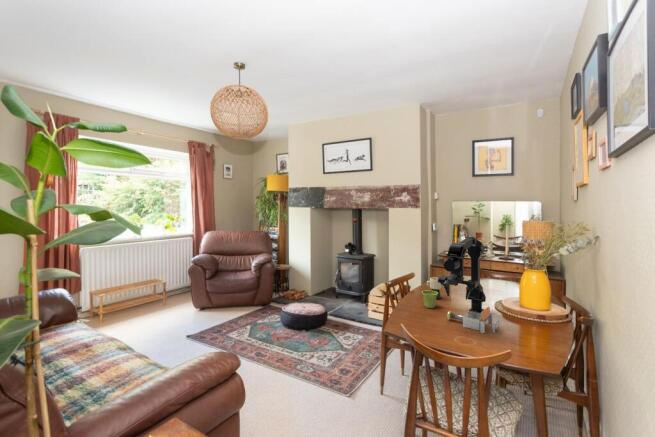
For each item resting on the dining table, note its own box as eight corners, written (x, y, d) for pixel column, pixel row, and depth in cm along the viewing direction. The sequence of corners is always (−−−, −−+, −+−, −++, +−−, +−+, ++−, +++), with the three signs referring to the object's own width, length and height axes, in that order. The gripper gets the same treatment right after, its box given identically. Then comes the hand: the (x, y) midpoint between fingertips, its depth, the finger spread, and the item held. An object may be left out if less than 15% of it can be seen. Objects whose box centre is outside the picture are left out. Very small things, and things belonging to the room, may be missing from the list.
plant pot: (427, 309, 194) (427, 295, 193) (418, 304, 203) (418, 291, 202) (441, 308, 196) (441, 293, 196) (432, 303, 205) (432, 289, 205)
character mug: (443, 297, 217) (444, 277, 217) (444, 300, 211) (444, 280, 210) (426, 295, 220) (426, 276, 220) (426, 299, 214) (426, 279, 213)
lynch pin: (450, 317, 179) (450, 309, 179) (475, 323, 171) (475, 315, 171) (447, 320, 176) (447, 312, 176) (472, 326, 168) (472, 317, 167)
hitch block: (470, 319, 177) (470, 309, 177) (500, 326, 168) (500, 315, 167) (461, 327, 166) (461, 317, 166) (492, 335, 157) (492, 324, 157)
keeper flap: (491, 316, 169) (489, 316, 170) (489, 306, 169) (487, 306, 170) (484, 323, 160) (482, 323, 161) (482, 312, 160) (480, 312, 161)
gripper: (433, 268, 169) (433, 298, 170) (471, 273, 157) (471, 305, 158) (441, 264, 178) (441, 293, 179) (478, 269, 165) (478, 299, 166)
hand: (457, 297), depth 170 cm, fingers open, 9 cm apart
